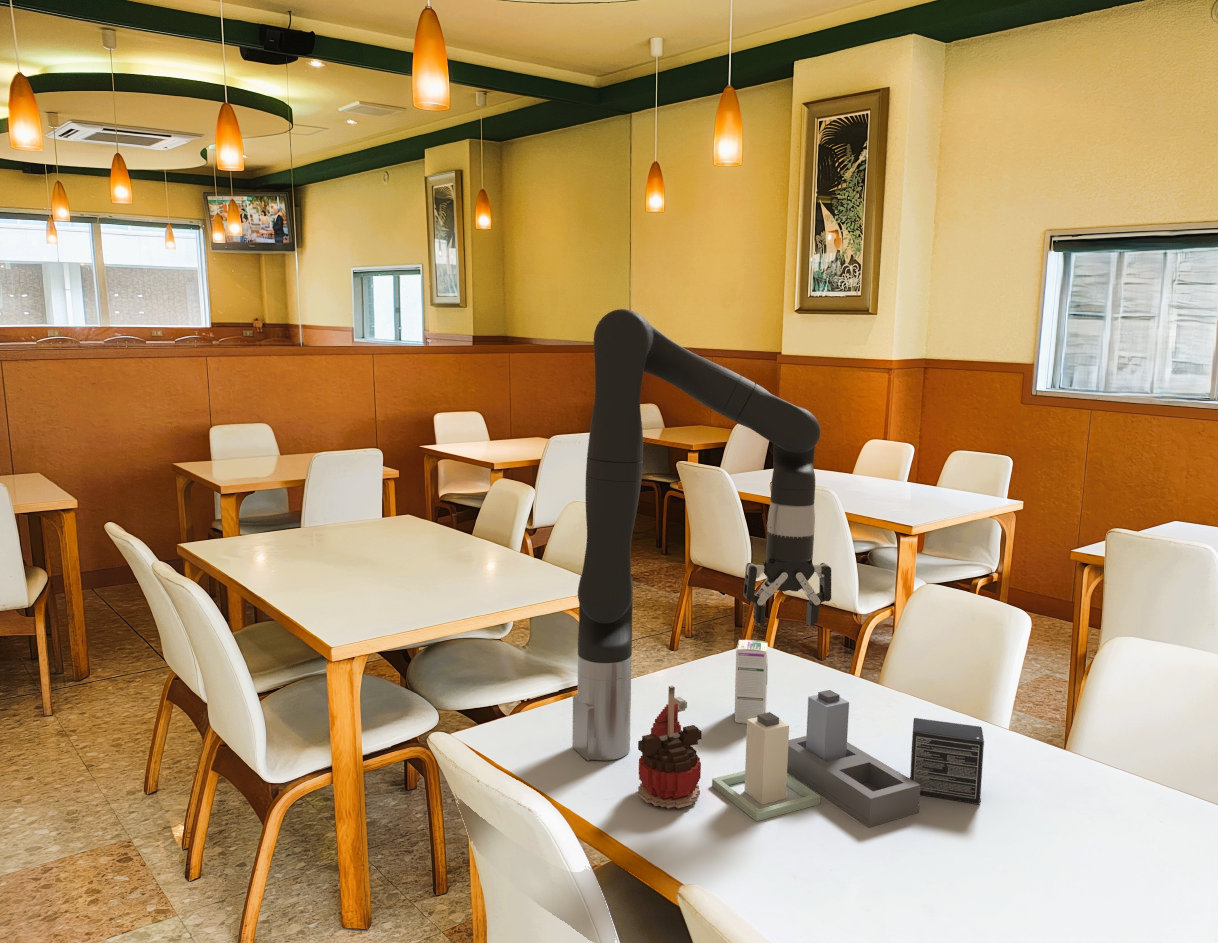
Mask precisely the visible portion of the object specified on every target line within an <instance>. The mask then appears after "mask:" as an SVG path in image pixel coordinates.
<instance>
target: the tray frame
mask: <svg viewBox="0 0 1218 943" xmlns="http://www.w3.org/2000/svg"><path fill="white" fill-rule="evenodd" d="M711 781H712V782H711V786H712V787H713V788H714V789H715V790H716V791H718V792H719V793H720V794H722V795H723V796H724V797H725V798H726V799H727V800H729V801H731V802H732V803H733V804H734V805H735V806H737V807H738V808H739V810H740V809H741V811H743V812H744V813H745V814H746V815H748V816H749V817H750V818H752V819H753V820H754V821H755V822H760V821H763V820H766V819H770V818H775V817H777V816H781V815H784V814H785V815H786V814H788V813H792V812H795V811H796V812H797V811H800V810H803V809H806V808H810V807H814V806H817V805H820V804H821V795H820V794H817V792H816V791H815V792H814V790H813V789H811V788H810V787H809V788H808V786H807V785H806V786H805V784H804V783H803V782H801V781H800V780H797V778H794V776H792V775H791V774H789V773H787V786H786V787H788V788H790V789H791V790H793V791H794V792H795V793H797V794H798V795H800V796H801V797H799V798H796V799H795V798H794V799H792V800H788V801H784V802H781V803H777V804H774V805H770V806H766V807H761V808H757V807H756V806H755V805H754V804H752V803H751V802H749V800H747V799H746V798H744V797H743V795H741V794H740V793H738V792H737V791H735V789H733V788H732V787H731V785H735V784H739V783H743V782H745V770H742V771H738V772H733V773H729V774H726V775H722V776H718V777H712V779H711Z"/></svg>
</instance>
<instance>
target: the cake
mask: <svg viewBox="0 0 1218 943" xmlns="http://www.w3.org/2000/svg"><path fill="white" fill-rule="evenodd" d="M675 689H676V687H675V686H674V685H668V695H667V696H668V702H667V704H665V706H664V708H662V710H661V711H660V713H658V715H657V716H656V718H654V722H653V723H652V727H651V728H650V733H649V734H646V735H642V736H641V740H638V742H637V743H638V744H637V750H638V751H640V753H641V754H642V755H640V758H638V780H640V781H641V783H639V786H638V797H640V798H641V799H642V800H643V801H644V802H645V803H646V804H650V803H651V804H653V806H654V807H658V806H660V807H661V808H664V807H665V808H667V809H671V808H674V807H675V808H676V809H680V808H684V807H687V806H692V805H693V802H698V798H699V796H700V795H701V790H700V786H699V782H700V779H701V773H702V772H701V771H702V770H701V769H702V768H701V767H702V761H700V760H701V758H700V757H699V756H698V754H697V750H696V749H695V748H694V747H693V746H695V745H696V746H697V745H698V744H699V741H701V740H702V736H703V734H702V733H703V731H702V730H700V729H699V727H697V726H696V725H695V724H691V725H688V726H683V727H682V725H681V724H680V721H679V720H678V719H679V713H680V712H685V711H686V709H688V701H686V700H685V699H684V698H683V697H681V696H676V697H675Z"/></svg>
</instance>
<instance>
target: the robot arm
mask: <svg viewBox="0 0 1218 943" xmlns="http://www.w3.org/2000/svg"><path fill="white" fill-rule="evenodd" d="M593 353H594V388H595V389H594V401H593V409H592V413H591V415H592V416H591V421H590V428H589V434H588V437H589V438H588V445H587V455H586V468H585V469H586V470H585V515H586V516H585V519H586V520H585V521H586V545H585V552H584V553H585V554H584V560H583V566H582V572H581V574H580V575H581V576H580V579H579V582H578V588H577V600H578V604H579V606H578V635H577V694H574V695H573V696H572V748H573V749H575V750H576V752H577V753H578V754H579V755H581V757H583V758H584V759H585V760H586V761H614V760H618V759H620V758H624V757H625V756H627V755H628V754H629V752H630V750H631V715H632V714H631V709H632V708H631V707H632V697H631V696H632V660H633V659H632V650H633V600H634V598H633V596H634V594H633V593H634V585H633V577H632V570H631V569H632V567H631V566H632V564H631V561H632V560H631V558H632V557H631V555H632V554H631V553H632V552H631V551H632V550H631V549H632V539H633V533H634V528H635V523H636V517H637V512H638V507H639V500H640V499H639V498H640V494H641V487H642V486H641V485H642V477H643V463H644V435H643V433H644V432H643V423H642V422H643V421H642V412H641V391H642V386H643V385H642V384H643V380H644V378H643V377H644V373H647V374H649V375H651V376H654V377H656V378H659V379H661V380H662V381H665V382H667V383H668V384H671V385H672V386H674V387H675V388H677V389H679V390H680V391H682V392H684V393H686V394H687V395H688V396H689V397H691V398H693V399H694V400H696V401H697V402H699V403H700V404H702V405H703V406H705V407H706V408H708V409H710V410H712V411H714V412H716V413H717V414H719V415H721V416H723V417H725V418H727V419H729V420H730V421H732V422H735V423H737V424H738V425H741V426H743V427H745V428H748V429H750V430H752V431H753V432H754V433H756V434H758V435H759V436H761V437H762V438H764V439H766V440H767V441H769V442H771V443H772V445H773V446H772V448H773V449H772V450H773V452H772V454H773V457H772V458H773V471H772V477H771V486H770V487H771V488H770V503H769V504H770V505H769V509H768V513H767V523H766V529H767V531H766V532H767V533H766V549H765V550H766V551H765V562H764V563H763V564H754V563H752V562H747V563H746V565H745V574H744V583H743V592H742V595H743V597H744V598H745V599H746V601H747V602H749V603H750V602H752V603H753V617H752V618H753V621H754V622H755V623H756V625H757V626H758V627H759V628H764V627H765V618H766V617H765V615H766V614H765V613H766V605H765V603H766V602H767V600H769V598H770V597H772V596H773V595H774V594H775V593H776V591H779V592H787V591H791V592H799V591H800V590H802V592H803V593H804V595H805V596H806V597H807V598H808V600H809V601H807V603H806V604H807V605H806V619H805V620H806V623H805V624H806V625H807V626H808V627H815V624H817V623H818V621H819V613H820V612H819V611H820V610H819V609H820V605H821V603H823V602H830V601H831V600H832V568H831V567H830V566H829V565H828V564H826V563H825V562H821V563H820V564H813V559H814V558H813V556H814V542H815V524H816V522H815V521H816V513H815V496H816V474H815V470H814V462H815V452H816V450H815V449H816V445H817V444H818V442H819V439H820V438H821V437H820V436H821V426H820V423H819V420H818V419H817V418H816V416H815V415H813V413H812V412H810V411H809V410H808V409H806V408H804V407H801V406H797V405H795V404H793V403H790V402H789V401H787V400H784V399H782V398H780V397H778V396H776V395H774V394H772V393H770V392H769V391H768V390H767V389H765V387H763V386H762V385H759V384H757V383H756V382H754V381H752V380H750V379H749V378H747V377H745V376H742V375H740V374H738V373H737V372H735V371H733V370H731V369H729V368H727V367H725V366H722V365H720V364H718V363H715V362H713V361H711V360H709V359H707V358H704V357H703V356H700V355H698V354H696V353H695V352H692V351H690V350H688V349H686V348H684V347H683V346H681V345H680V344H678V343H676V342H675V341H673V340H672V339H670V338H669V337H667V336H666V335H665V334H663V332H661V331H660V330H658V329H657V328H656V327H654V326H653V325H652V324H650V322H648V320H647V319H646V317H644V316H643V315H641V314H640V313H639V312H636V311H633V310H630V309H625V308H624V309H623V308H622V309H621V308H620V309H614V310H612V311H609V312H607V313H606V314H605V315H603V316H602V317H601V319H599V321H598V323H597V324H596V327H595V330H594V333H593ZM762 573H763V574H764V575H765V577H766V579H765V580H764V581H763V583H762V584H760V587H759V589H758V590H757V592H756V584H757V579H758V578H760V576H761V574H762ZM814 574H816V576H817V578H819V587H818V588H819V592H817V593H816V592H815V590H814V588H813V586H811V584H810V583H809V580H810V579H811V578H812V576H813V575H814ZM755 592H756V593H755Z"/></svg>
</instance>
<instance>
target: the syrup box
mask: <svg viewBox="0 0 1218 943" xmlns="http://www.w3.org/2000/svg"><path fill="white" fill-rule="evenodd" d="M768 645H769V644H768V641H763V640H758V639H757V640H756V639H738V642H737V645H736V649H735V678H734V680H735V681H734V682H735V686H734V688H735V690H734V691H735V692H734V723H736V724H744V725H745V724H746V725H747V719H752V718H756V717H757V715H759V714H763V713H767V703H768V702H767V701H768V700H767V699H768V698H767V697H768V661H769V660H768V657H769V656H768V654H769V651H768V650H769V649H768V648H769V646H768Z"/></svg>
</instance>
